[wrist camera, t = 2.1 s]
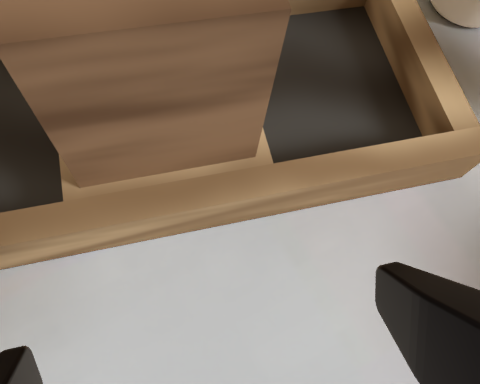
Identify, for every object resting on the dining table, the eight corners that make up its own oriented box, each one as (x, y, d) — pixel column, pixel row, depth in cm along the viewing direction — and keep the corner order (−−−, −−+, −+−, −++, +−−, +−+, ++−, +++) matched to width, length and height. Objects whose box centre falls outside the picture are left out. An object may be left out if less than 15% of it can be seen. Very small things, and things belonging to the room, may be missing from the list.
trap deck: (460, 177, 25) (493, 151, 22) (-173, 304, 20) (-234, 291, 17) (334, -93, 33) (347, -136, 30) (-134, -54, 28) (-171, -102, 25)
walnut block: (255, 157, 21) (291, 8, 13) (80, 188, 19) (-9, 45, 11) (211, -2, 24) (216, -196, 16) (60, 16, 23) (-17, -187, 15)
